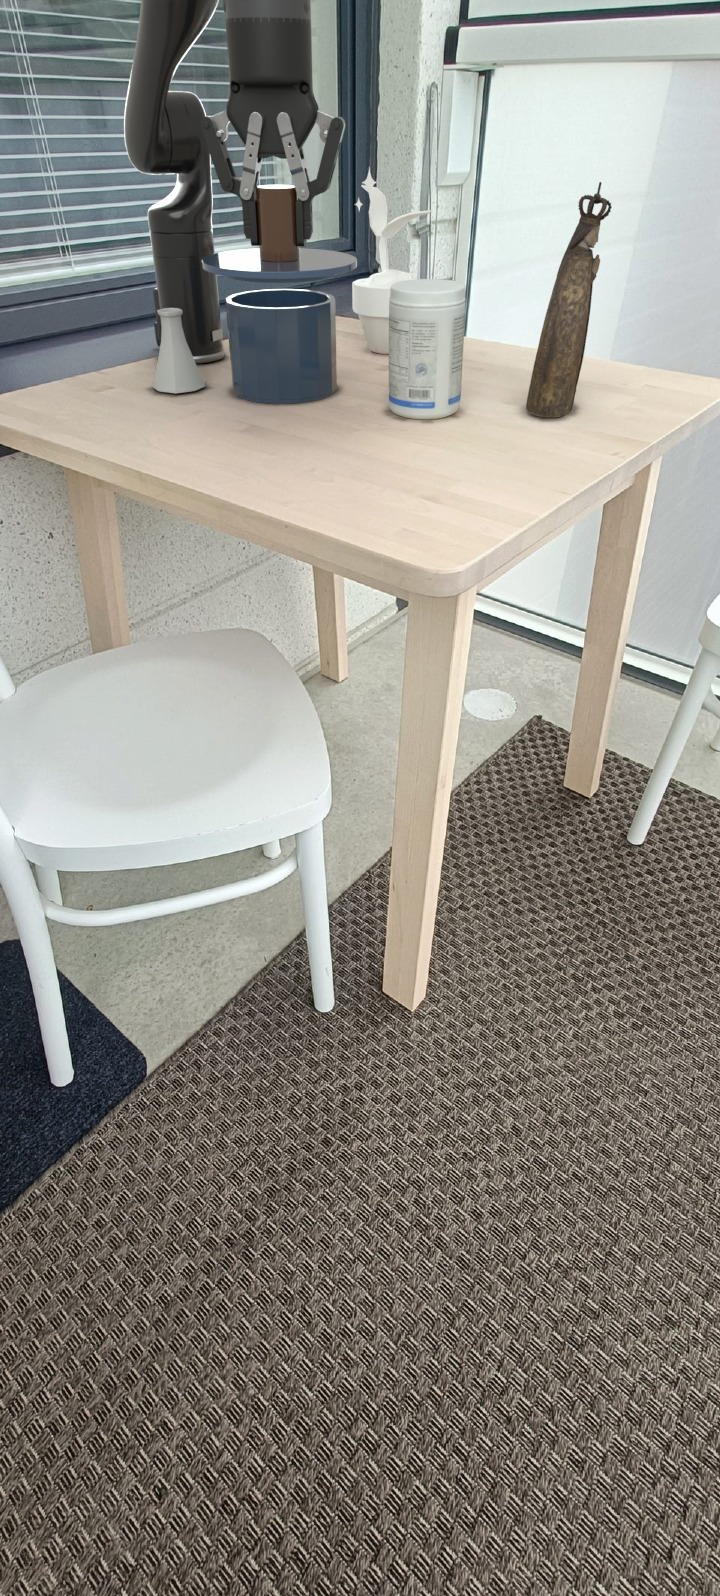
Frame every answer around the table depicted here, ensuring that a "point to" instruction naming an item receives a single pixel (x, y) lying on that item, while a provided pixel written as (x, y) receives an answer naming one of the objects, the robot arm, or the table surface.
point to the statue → (567, 319)
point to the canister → (282, 345)
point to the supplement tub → (426, 347)
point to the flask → (175, 357)
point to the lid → (278, 247)
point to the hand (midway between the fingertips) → (278, 244)
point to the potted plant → (375, 290)
